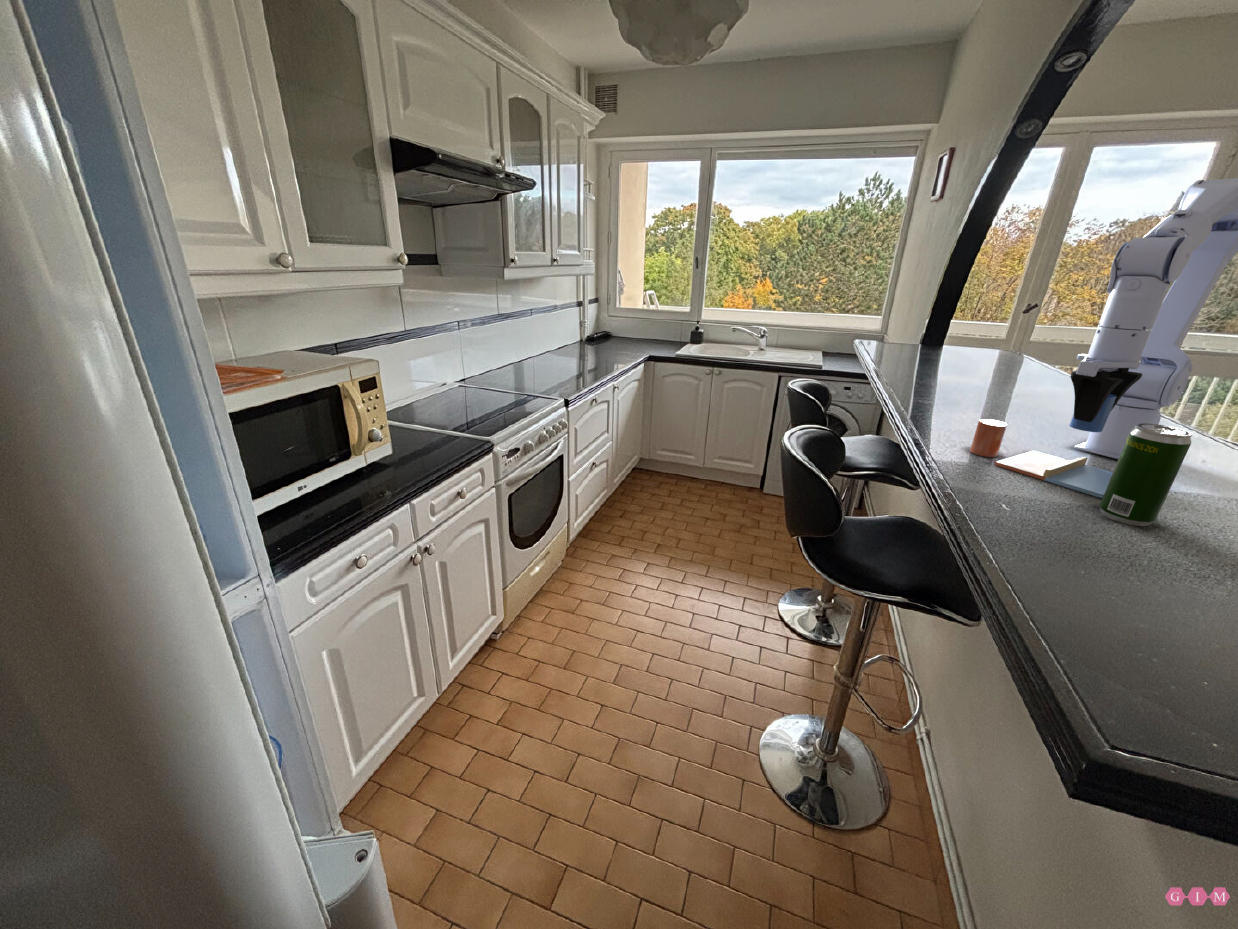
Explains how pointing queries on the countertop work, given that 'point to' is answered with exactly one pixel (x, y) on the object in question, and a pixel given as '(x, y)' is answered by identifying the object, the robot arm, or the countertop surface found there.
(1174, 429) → the green drink can
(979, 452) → the orange cylinder
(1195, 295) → the robot arm
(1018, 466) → the board
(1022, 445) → the countertop surface
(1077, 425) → the cylinder
